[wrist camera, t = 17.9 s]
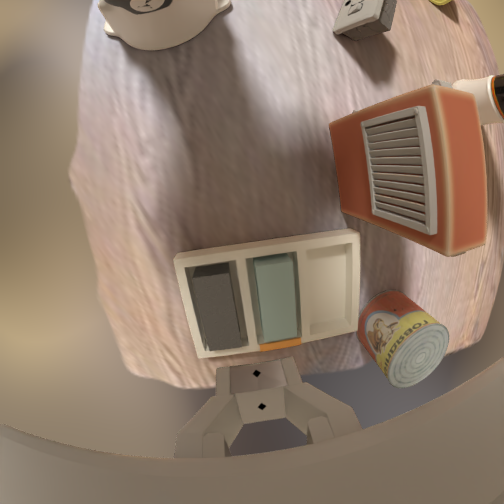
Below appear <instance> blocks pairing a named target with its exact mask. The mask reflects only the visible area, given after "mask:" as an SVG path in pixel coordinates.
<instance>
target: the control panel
mask: <svg viewBox="0 0 504 504" xmlns="http://www.w3.org/2000/svg"><path fill="white" fill-rule="evenodd" d="M329 128H330V133H331V139H332V145H333V151H334V158H335V164H336V171H337V178H338V186H339V194H340V203H341V211H342V212H343V213H346V214H349V215H351V216H354V217H356V218H359V219H362V220H364V221H367V222H369V223H372V224H374V225H376V226H379V227H381V228H384V229H386V230H389V231H391V232H393V233H396V234H398V235H400V236H403V237H405V238H407V239H409V240H412V241H414V242H416V243H418V244H421V245H423V246H425V247H427V248H429V249H432V250H434V251H436V252H438V253H440V254H442V255H444V256H447V257H450V256H451V257H454V256H458V255H461V254H464V253H465V252H466V251H469V250H472V249H475V248H477V247H480V246H483V245H485V243H486V233H487V175H486V162H485V152H484V143H483V136H482V129H481V123H480V118H479V112H478V107H477V103H476V98H475V95H474V94H472V93H468V92H464V91H461V90H457V89H453V87H452V84H451V83H449V82H445V81H441V80H437V79H435V80H434V81H433V82H432V85H429V86H426V87H423V88H420V89H417V90H414V91H411V92H408V93H405V94H402V95H399V96H396V97H393V98H391V99H388V100H385V101H383V102H380V103H377V104H375V105H372V106H370V107H367V108H365V109H362V110H354V111H353V112H352V114H350V115H347V116H345V117H343V118H340V119H338V120H336V121H333V122H331V123H329Z"/></svg>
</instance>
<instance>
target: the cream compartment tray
mask: <svg viewBox="0 0 504 504" xmlns="http://www.w3.org/2000/svg"><path fill="white" fill-rule="evenodd" d="M280 253H287V254H288V256H289V257H290V259H291V260H292V261H293V275H294V290H295V306H296V324H297V337H292V338H286V339H280V340H274V341H268V342H265V341H264V337H263V332H262V328H261V320H260V312H259V304H258V296H257V288H256V280H255V272H254V264H253V257H260V256H267V255H273V254H280ZM173 261H174V266H175V271H176V275H177V279H178V284H179V288H180V292H181V296H182V300H183V304H184V308H185V312H186V316H187V320H188V323H189V327H190V331H191V334H192V338H193V342H194V345H195V348H196V352H197V355H198V358H208V357H217V356H226V355H233V354H241V353H248V352H255V351H261V352H263V351H269V350H275V349H281V348H286V347H291V346H297V345H301V343H306V342H311V341H315V340H320V339H325V338H329V337H333V336H338V335H342V334H346V333H350V332H354V331H357V330H358V315H359V295H360V232H358V231H356V230H354V229H352V228H348V229H340V230H333V231H325V232H318V233H311V234H304V235H297V236H289V237H282V238H275V239H268V240H261V241H254V242H247V243H241V244H234V245H227V246H220V247H213V248H207V249H200V250H193V251H187V252H180V253H177V254H176V256H175V257H174V259H173ZM228 262H229V267H230V273H231V279H232V286H233V291H234V297H235V303H236V309H237V315H238V321H239V326H240V332H241V342H242V347H240V348H233V349H225V350H217V351H209V347H208V343H207V340H206V336H205V332H204V328H203V324H202V319H201V315H200V311H199V307H198V302H197V298H196V294H195V289H194V285H193V280H192V277H193V274H194V271H195V268H196V267H201V266H208V265H215V264H222V263H228Z"/></svg>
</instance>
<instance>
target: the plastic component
mask: <svg viewBox="0 0 504 504" xmlns="http://www.w3.org/2000/svg"><path fill="white" fill-rule="evenodd" d="M429 1H431V2H432V3H434V4H436V5H445V4H446V3H448V2H450V1H452V0H429Z"/></svg>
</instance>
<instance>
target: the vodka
mask: <svg viewBox="0 0 504 504" xmlns="http://www.w3.org/2000/svg"><path fill="white" fill-rule="evenodd" d="M452 87H453V89H457V90H461V91H464V92H468V93H472V94H474V95H475V98H476V103H477V107H478V112H479V118H480V123H481V126H482V125H486V124H493V123H504V74H503V75H497V76H494V75H490V76H489V77H486V78H481V79H473V80H466V79H462V80H458V81H455V82H454V83H453V85H452Z"/></svg>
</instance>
